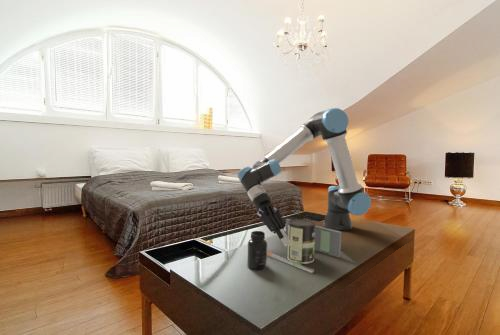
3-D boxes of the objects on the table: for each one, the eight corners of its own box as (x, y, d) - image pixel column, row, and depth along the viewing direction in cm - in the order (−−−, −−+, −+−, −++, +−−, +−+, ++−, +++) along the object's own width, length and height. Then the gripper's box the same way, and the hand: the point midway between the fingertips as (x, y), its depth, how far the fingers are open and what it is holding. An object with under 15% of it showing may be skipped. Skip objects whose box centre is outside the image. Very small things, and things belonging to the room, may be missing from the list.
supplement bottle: (244, 263, 91) (245, 230, 91) (261, 261, 94) (262, 229, 94) (251, 272, 85) (252, 236, 85) (270, 269, 88) (271, 234, 87)
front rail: (257, 250, 105) (257, 247, 105) (313, 272, 86) (314, 269, 86) (255, 251, 104) (255, 248, 104) (311, 273, 85) (312, 270, 85)
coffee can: (313, 254, 102) (314, 219, 101) (315, 265, 92) (316, 226, 91) (287, 252, 104) (288, 217, 103) (286, 262, 94) (287, 224, 93)
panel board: (286, 240, 118) (287, 218, 118) (340, 257, 100) (341, 231, 99) (284, 240, 117) (285, 219, 117) (338, 258, 99) (339, 232, 98)
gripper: (253, 193, 106) (283, 243, 95) (273, 190, 115) (303, 236, 104) (244, 203, 110) (272, 253, 99) (264, 200, 119) (292, 245, 108)
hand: (288, 244), depth 102 cm, fingers closed
